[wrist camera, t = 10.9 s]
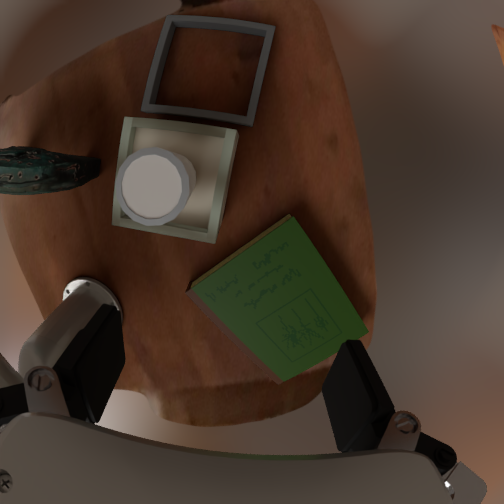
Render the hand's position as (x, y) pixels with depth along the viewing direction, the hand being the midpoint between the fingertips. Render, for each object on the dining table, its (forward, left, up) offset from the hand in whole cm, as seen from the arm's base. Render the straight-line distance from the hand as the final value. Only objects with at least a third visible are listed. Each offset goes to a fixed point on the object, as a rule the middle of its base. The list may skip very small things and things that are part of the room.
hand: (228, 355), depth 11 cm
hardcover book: (-15, -10, -31) cm, 36 cm away
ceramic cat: (+3, +31, -30) cm, 43 cm away
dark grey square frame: (+19, +8, -30) cm, 36 cm away
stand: (+4, +8, -30) cm, 31 cm away
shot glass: (+3, +8, -21) cm, 23 cm away
